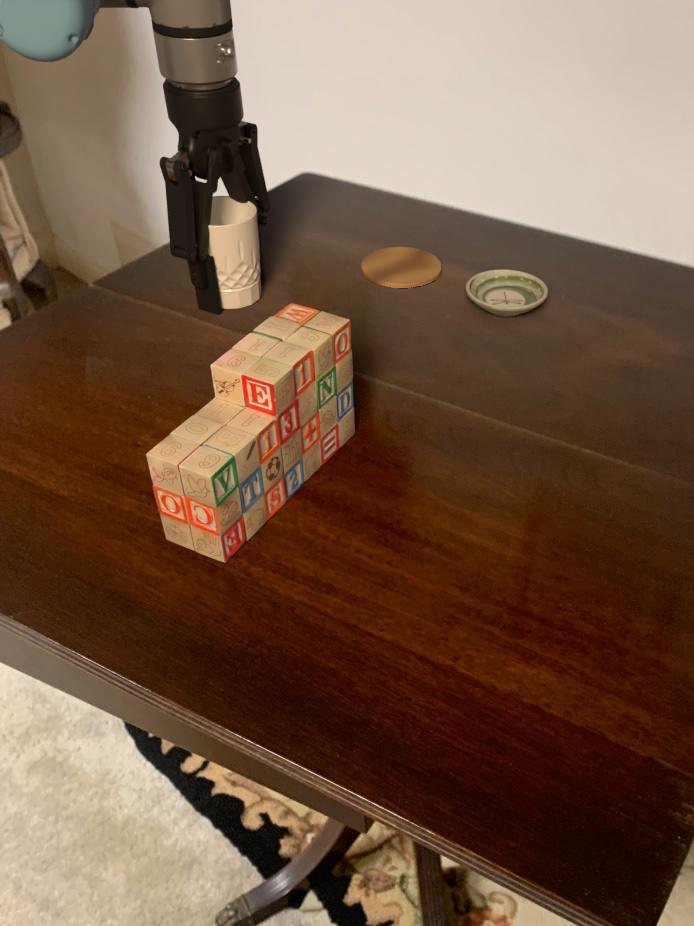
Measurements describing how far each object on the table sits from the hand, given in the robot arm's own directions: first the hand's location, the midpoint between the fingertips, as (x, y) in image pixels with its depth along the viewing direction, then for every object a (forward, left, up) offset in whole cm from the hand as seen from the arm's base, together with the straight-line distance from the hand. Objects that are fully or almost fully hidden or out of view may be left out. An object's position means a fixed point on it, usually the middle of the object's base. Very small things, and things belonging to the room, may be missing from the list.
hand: (232, 293), depth 104 cm
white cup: (0, 0, 0) cm, 0 cm away
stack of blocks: (+23, -27, 0) cm, 35 cm away
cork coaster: (+14, +16, 0) cm, 21 cm away
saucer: (+29, +14, 0) cm, 32 cm away
